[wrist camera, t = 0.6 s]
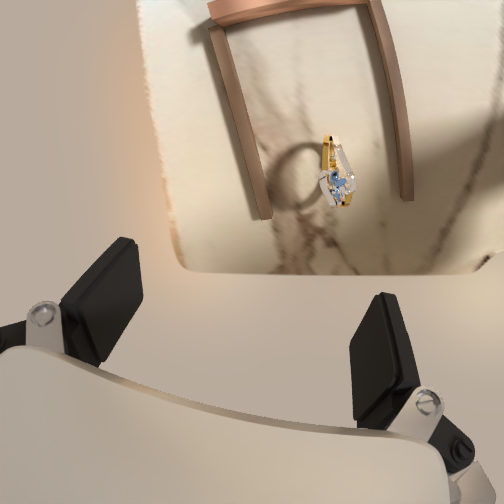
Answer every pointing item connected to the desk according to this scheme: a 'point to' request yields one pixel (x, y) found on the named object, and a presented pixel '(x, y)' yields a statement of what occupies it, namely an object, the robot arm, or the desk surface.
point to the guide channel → (228, 13)
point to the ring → (336, 174)
